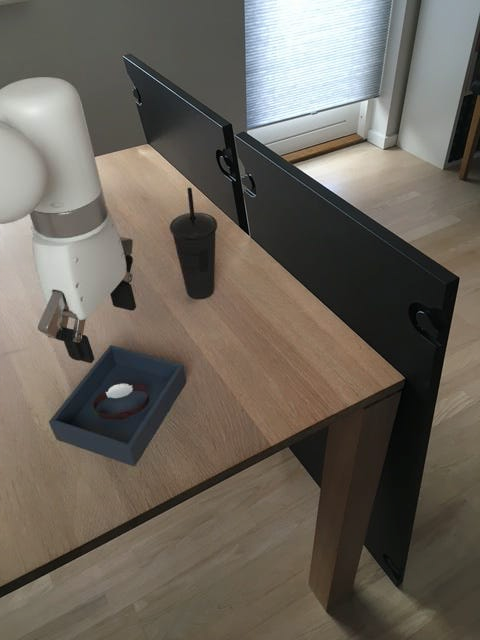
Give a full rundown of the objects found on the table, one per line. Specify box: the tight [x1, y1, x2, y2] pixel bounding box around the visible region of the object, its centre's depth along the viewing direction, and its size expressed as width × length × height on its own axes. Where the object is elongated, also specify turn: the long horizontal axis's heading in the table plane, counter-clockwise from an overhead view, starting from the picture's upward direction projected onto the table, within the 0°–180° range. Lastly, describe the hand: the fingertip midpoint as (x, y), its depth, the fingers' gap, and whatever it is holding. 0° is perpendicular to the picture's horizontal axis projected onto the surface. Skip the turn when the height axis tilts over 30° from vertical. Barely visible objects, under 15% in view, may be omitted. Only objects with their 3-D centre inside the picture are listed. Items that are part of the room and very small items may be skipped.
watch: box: [93, 384, 149, 420], centre depth 75 cm, size 8×5×4 cm, turn 108°
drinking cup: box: [169, 187, 218, 300], centre depth 89 cm, size 8×8×20 cm
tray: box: [48, 344, 187, 467], centre depth 75 cm, size 15×12×4 cm
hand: (104, 331), depth 66 cm, fingers open, 9 cm apart
